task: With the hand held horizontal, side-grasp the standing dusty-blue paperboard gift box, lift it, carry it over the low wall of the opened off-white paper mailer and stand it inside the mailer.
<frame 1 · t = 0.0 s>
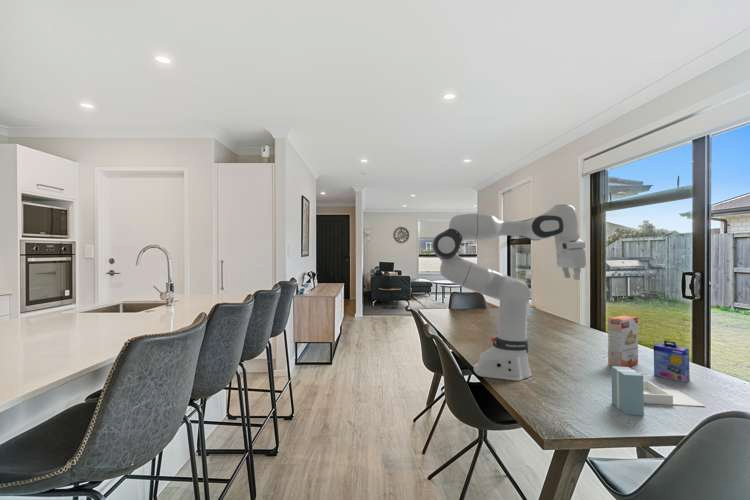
hand: (572, 278, 137), 39 cm above the table, tool pointing down, fingers open, 8 cm apart
gift box: (627, 409, 107), on the table
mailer: (643, 395, 117), on the table
cracker box: (623, 365, 150), on the table
ink cartridge box: (671, 378, 134), on the table
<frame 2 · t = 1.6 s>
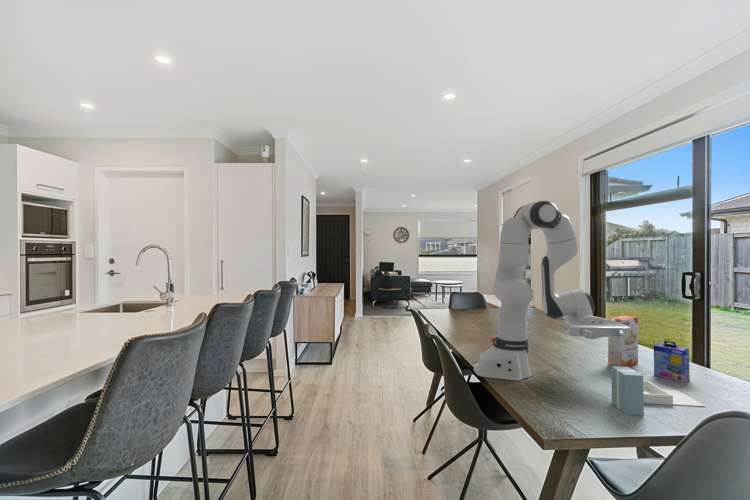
hand: (607, 335, 119), 20 cm above the table, tool horizontal, fingers open, 8 cm apart
nothing on the table moved.
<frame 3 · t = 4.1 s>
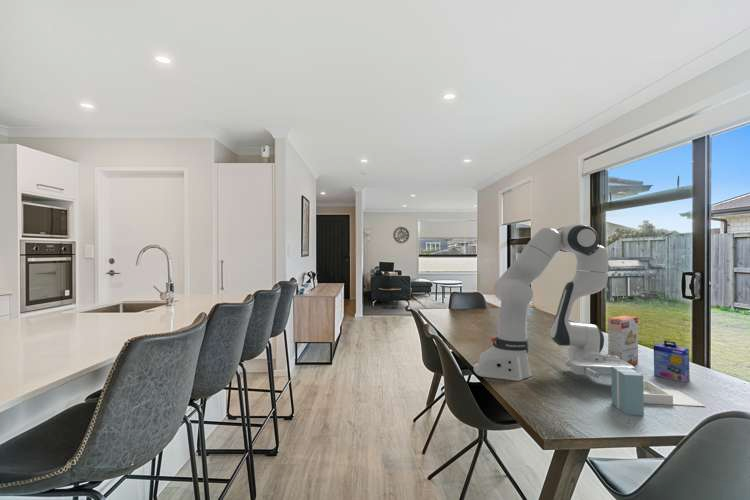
hand: (611, 376, 117), 7 cm above the table, tool horizontal, fingers open, 8 cm apart
nothing on the table moved.
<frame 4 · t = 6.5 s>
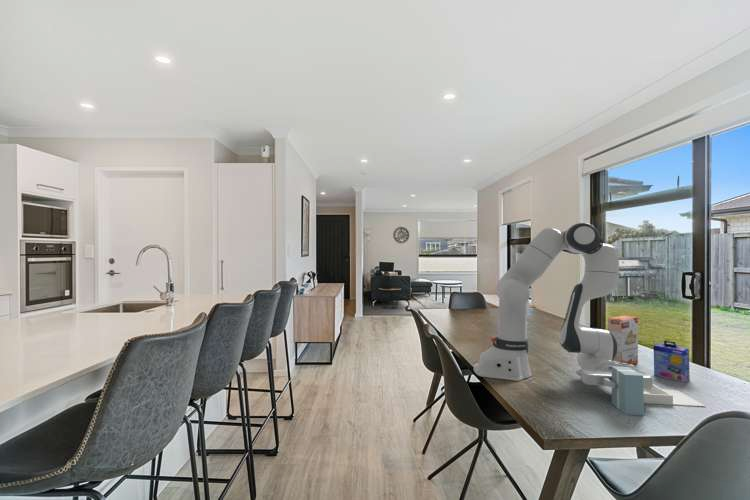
hand: (627, 387, 107), 7 cm above the table, tool horizontal, fingers closed on gift box, 5 cm apart
gift box: (627, 409, 107), on the table, touching gripper
everything else where it was.
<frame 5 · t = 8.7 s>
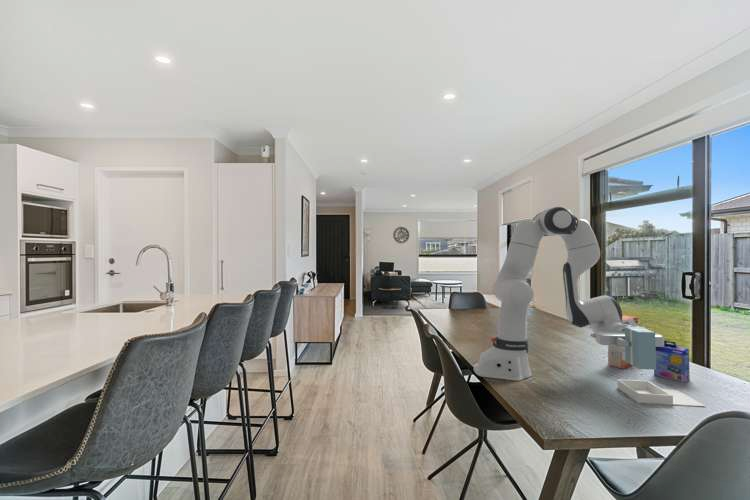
hand: (640, 344, 114), 18 cm above the table, tool horizontal, fingers closed on gift box, 5 cm apart
gift box: (640, 365, 115), point 11 cm above the table, touching gripper
everything else where it was.
when the fingers open (9 cm above the table, at t = 11.2 s): gift box drops 2 cm, resting on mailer.
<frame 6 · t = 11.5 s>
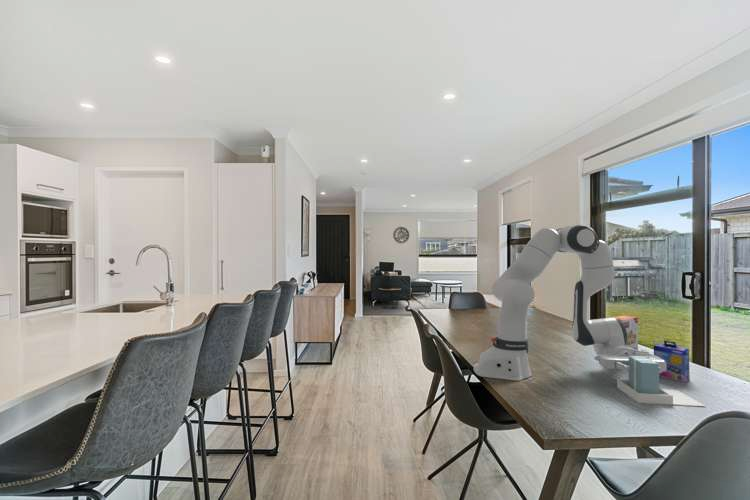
hand: (643, 369, 117), 9 cm above the table, tool horizontal, fingers open, 8 cm apart
gift box: (643, 394, 117), resting on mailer
everything else where it was.
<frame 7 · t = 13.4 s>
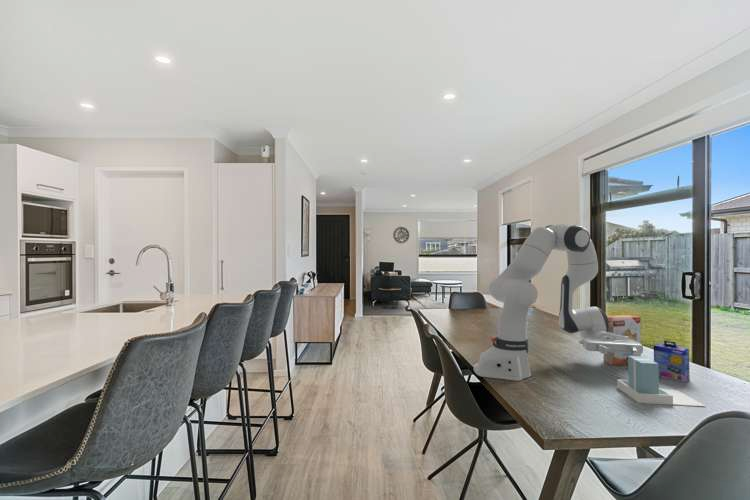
hand: (621, 351, 130), 12 cm above the table, tool horizontal, fingers open, 8 cm apart
cracker box: (622, 363, 152), on the table
everything else where it was.
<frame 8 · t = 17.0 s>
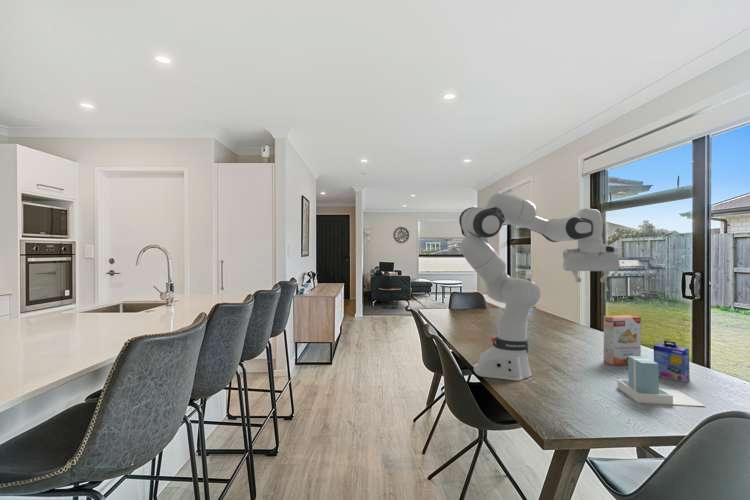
hand: (590, 282, 141), 37 cm above the table, tool pointing down, fingers open, 8 cm apart
nothing on the table moved.
at the end: gift box 0.1 cm from the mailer (horizontally); gift box tilted 0°; the gripper is holding nothing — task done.
